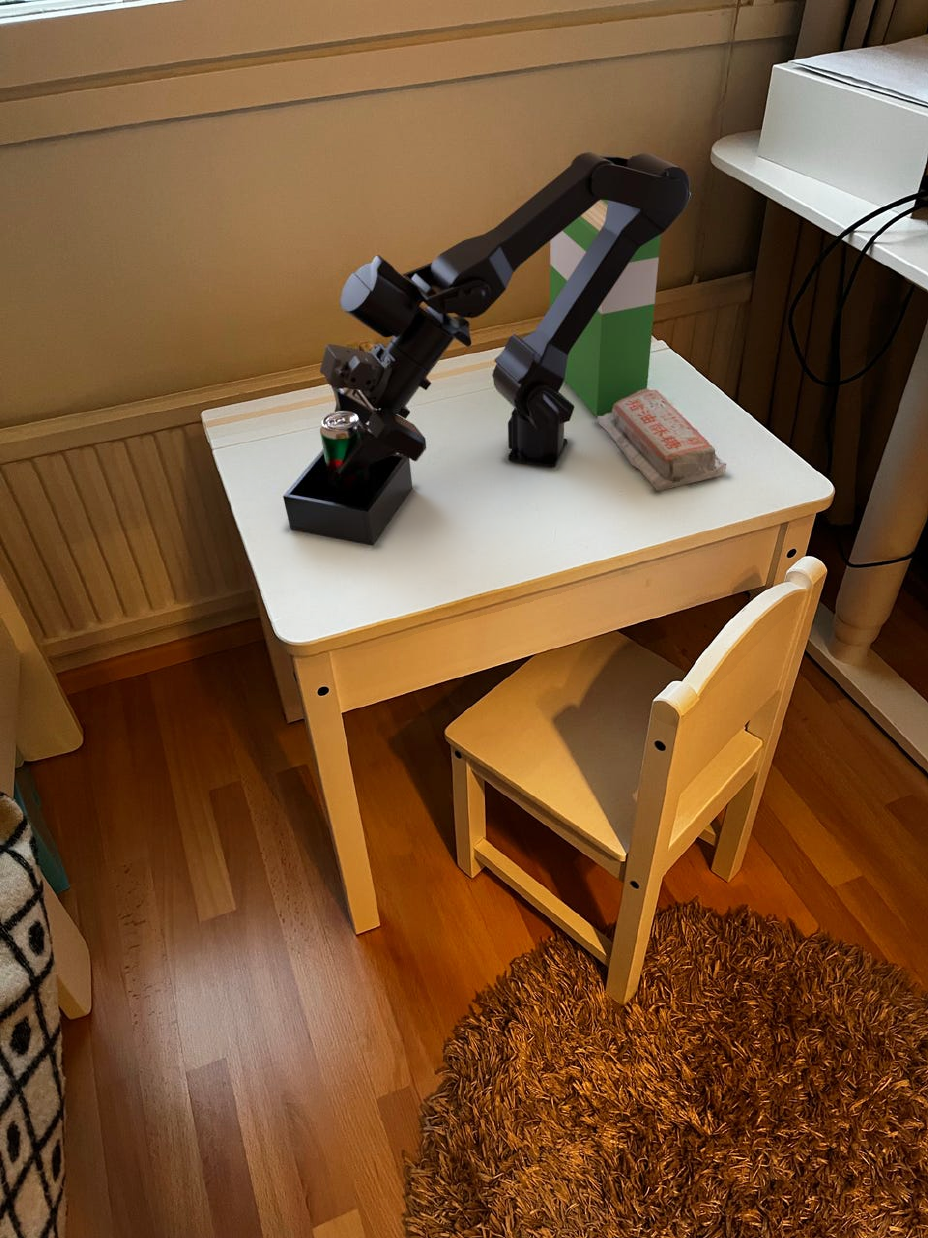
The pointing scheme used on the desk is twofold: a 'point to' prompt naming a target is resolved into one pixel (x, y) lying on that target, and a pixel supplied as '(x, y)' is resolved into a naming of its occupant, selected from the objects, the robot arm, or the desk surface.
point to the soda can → (337, 444)
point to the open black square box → (325, 518)
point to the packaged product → (661, 441)
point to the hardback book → (608, 317)
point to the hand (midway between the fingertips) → (334, 463)
